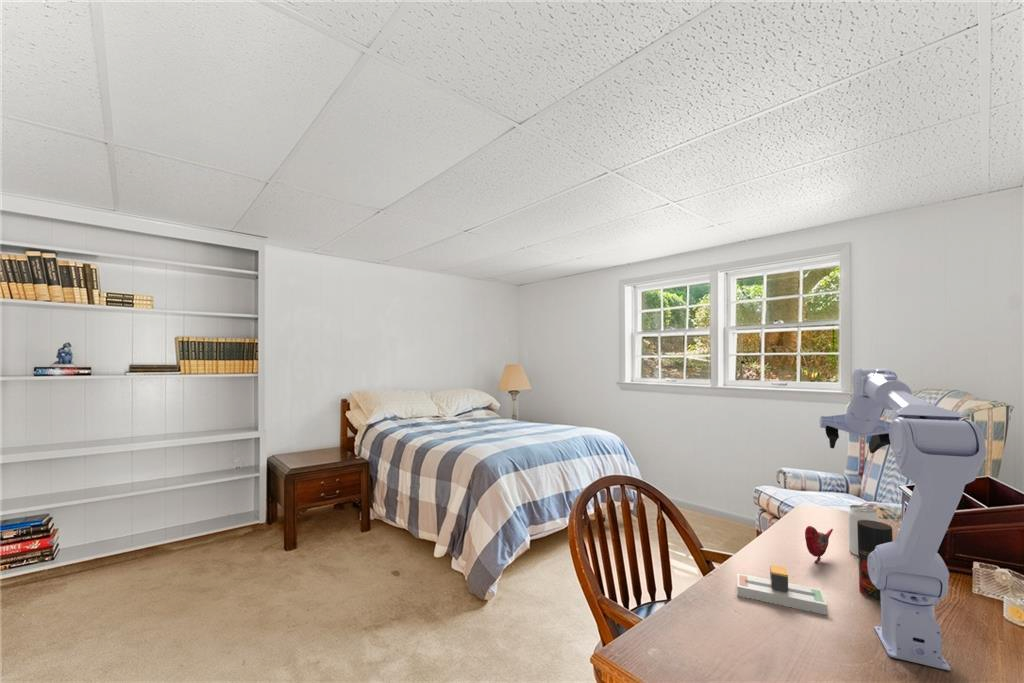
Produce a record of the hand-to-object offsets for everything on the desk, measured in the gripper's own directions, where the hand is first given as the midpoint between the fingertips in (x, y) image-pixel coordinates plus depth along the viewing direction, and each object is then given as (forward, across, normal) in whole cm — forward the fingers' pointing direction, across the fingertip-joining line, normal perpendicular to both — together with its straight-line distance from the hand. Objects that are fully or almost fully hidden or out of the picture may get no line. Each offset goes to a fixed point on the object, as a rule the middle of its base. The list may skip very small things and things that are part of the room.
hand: (851, 447), depth 107 cm
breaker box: (+9, +15, +35) cm, 39 cm away
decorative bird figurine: (+27, +4, +17) cm, 32 cm away
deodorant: (+16, -4, +27) cm, 32 cm away
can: (+33, -8, +9) cm, 35 cm away
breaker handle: (+7, +15, +34) cm, 37 cm away
